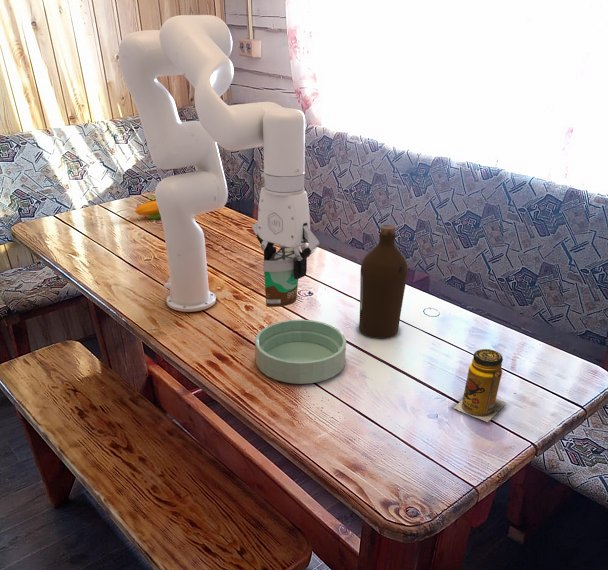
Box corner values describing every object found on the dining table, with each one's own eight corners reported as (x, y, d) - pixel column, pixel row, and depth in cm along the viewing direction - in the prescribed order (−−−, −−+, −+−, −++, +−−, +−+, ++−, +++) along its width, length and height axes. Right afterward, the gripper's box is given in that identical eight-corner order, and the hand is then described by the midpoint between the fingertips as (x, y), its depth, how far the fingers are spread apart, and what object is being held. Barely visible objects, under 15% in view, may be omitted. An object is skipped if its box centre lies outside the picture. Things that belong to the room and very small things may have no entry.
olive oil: (405, 324, 145) (417, 222, 131) (394, 343, 137) (406, 237, 123) (363, 316, 148) (371, 216, 134) (350, 335, 140) (357, 231, 126)
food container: (293, 313, 118) (293, 264, 113) (263, 309, 120) (262, 261, 114) (308, 290, 128) (309, 245, 123) (281, 287, 130) (281, 242, 124)
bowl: (237, 365, 128) (236, 342, 125) (293, 332, 141) (293, 311, 138) (308, 396, 118) (308, 373, 115) (361, 359, 131) (363, 337, 128)
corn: (190, 192, 211) (138, 201, 201) (192, 213, 215) (142, 224, 205) (180, 189, 216) (128, 198, 206) (182, 210, 220) (132, 220, 210)
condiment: (452, 408, 116) (463, 355, 109) (472, 390, 121) (483, 339, 114) (487, 423, 112) (500, 369, 105) (506, 404, 117) (519, 351, 110)
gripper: (236, 178, 112) (241, 267, 122) (308, 195, 104) (307, 289, 114) (262, 171, 117) (265, 257, 127) (333, 186, 109) (330, 277, 119)
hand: (285, 271), depth 120 cm, fingers closed on food container, 7 cm apart
